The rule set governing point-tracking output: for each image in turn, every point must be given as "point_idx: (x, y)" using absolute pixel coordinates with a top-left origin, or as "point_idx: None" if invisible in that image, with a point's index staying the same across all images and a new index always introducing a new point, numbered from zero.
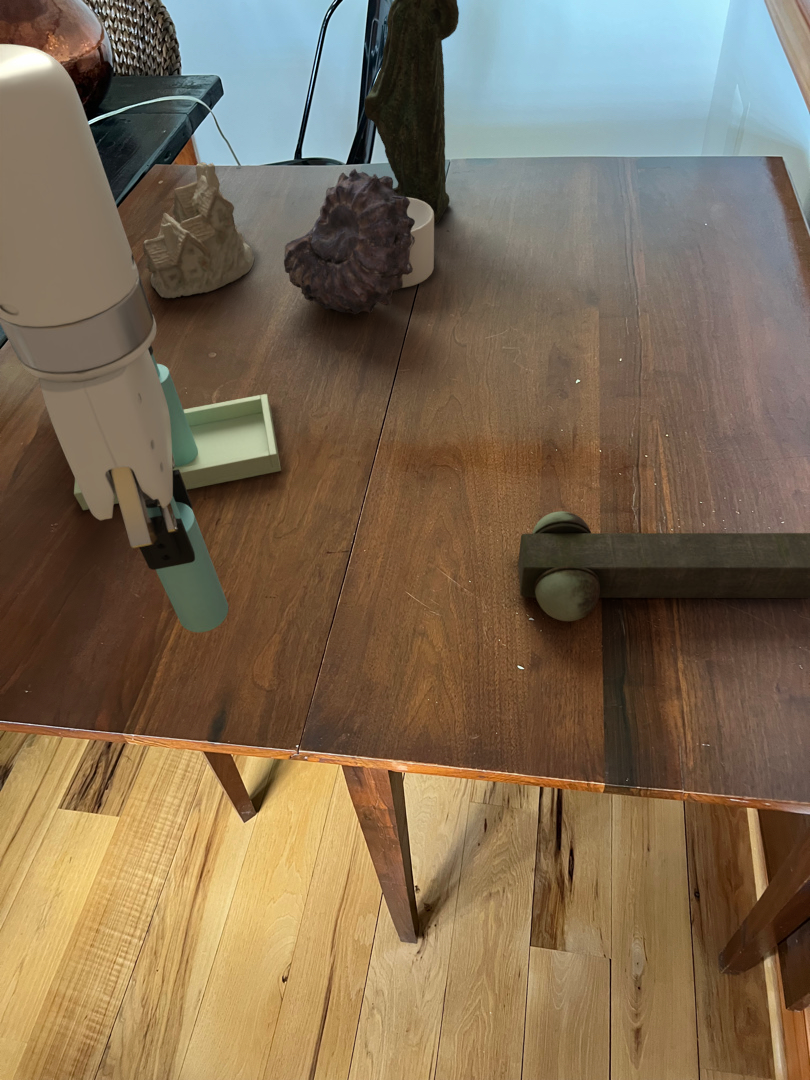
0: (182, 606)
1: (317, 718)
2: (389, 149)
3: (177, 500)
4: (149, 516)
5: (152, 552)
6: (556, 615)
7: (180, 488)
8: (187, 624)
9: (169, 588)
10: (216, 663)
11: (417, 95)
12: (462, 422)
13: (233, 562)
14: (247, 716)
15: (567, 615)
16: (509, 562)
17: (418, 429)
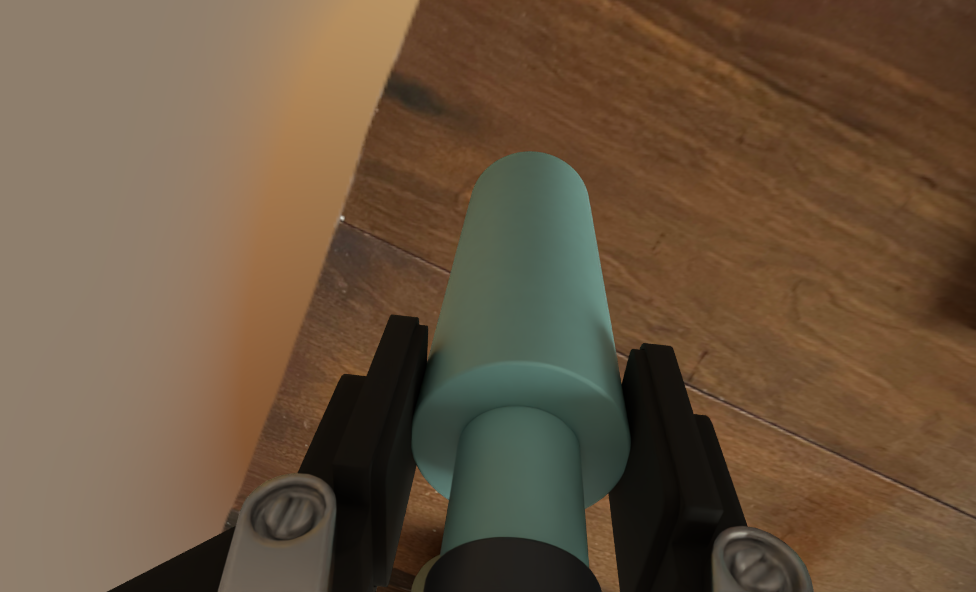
0: (466, 223)
1: (382, 257)
2: None
3: (618, 491)
4: (463, 493)
5: (320, 428)
6: (422, 572)
7: (618, 561)
8: (480, 182)
9: (467, 246)
10: (550, 115)
11: None
12: (852, 587)
13: (787, 192)
14: (417, 151)
15: (414, 583)
16: None
17: (887, 540)
